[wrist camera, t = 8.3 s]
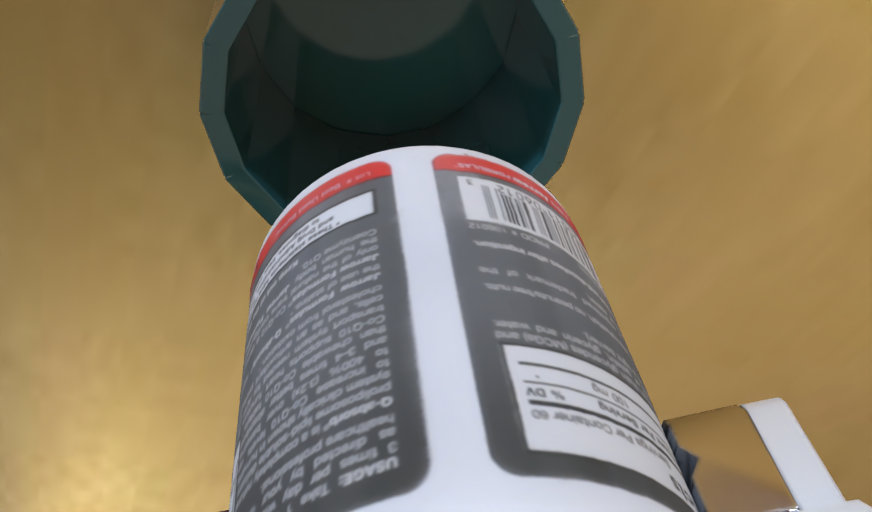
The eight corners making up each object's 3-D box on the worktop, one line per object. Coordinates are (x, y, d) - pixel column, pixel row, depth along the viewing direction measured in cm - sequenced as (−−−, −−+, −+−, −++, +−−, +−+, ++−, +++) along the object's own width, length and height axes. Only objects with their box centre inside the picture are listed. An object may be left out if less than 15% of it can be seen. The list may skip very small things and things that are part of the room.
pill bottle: (298, 411, 16) (270, 1136, 8) (211, 166, 13) (28, 997, 5) (585, 361, 16) (825, 1040, 8) (574, 102, 13) (959, 836, 5)
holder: (280, 162, 29) (268, 289, 23) (183, -119, 23) (137, -40, 18) (542, 106, 28) (595, 221, 23) (508, -191, 23) (566, -135, 17)
